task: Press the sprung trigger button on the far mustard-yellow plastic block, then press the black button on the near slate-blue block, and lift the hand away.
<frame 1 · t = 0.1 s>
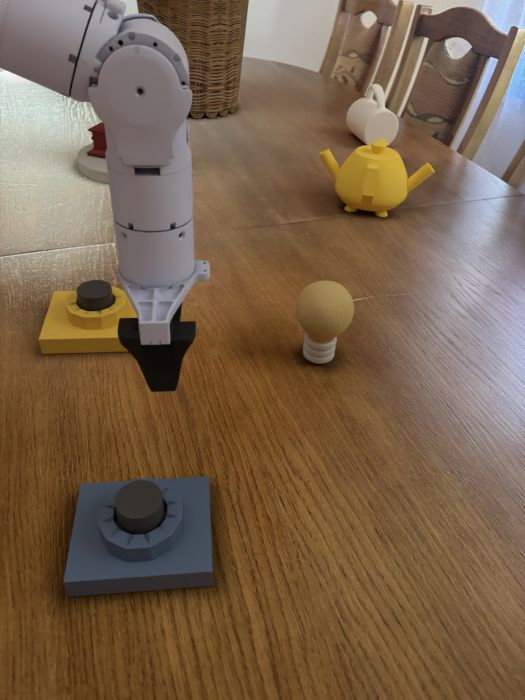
hand: (164, 358, 49), 10 cm above the table, tool pointing down, fingers open, 7 cm apart
wicker basket: (195, 107, 143), on the table
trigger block: (100, 327, 69), on the table
trigger button: (95, 295, 66), point 5 cm above the table, slide at 0.1 cm
mug: (368, 142, 128), on the table
light bulb: (317, 358, 67), on the table
start button: (139, 506, 44), point 5 cm above the table, slide at 0.1 cm
teapot: (367, 206, 101), on the table
gramophone: (132, 165, 111), on the table
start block: (144, 539, 47), on the table
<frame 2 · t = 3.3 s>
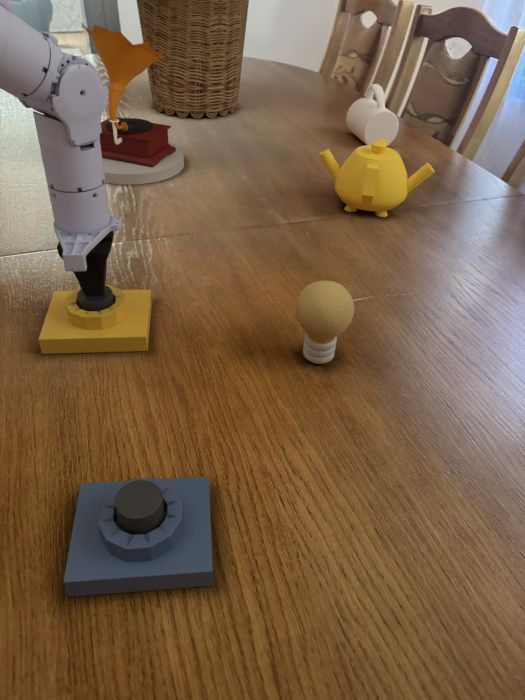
hand: (95, 293, 66), 5 cm above the table, tool pointing down, fingers closed, pressing on trigger button
trigger button: (96, 300, 67), point 4 cm above the table, slide at -0.6 cm, touching gripper
everything else where it was.
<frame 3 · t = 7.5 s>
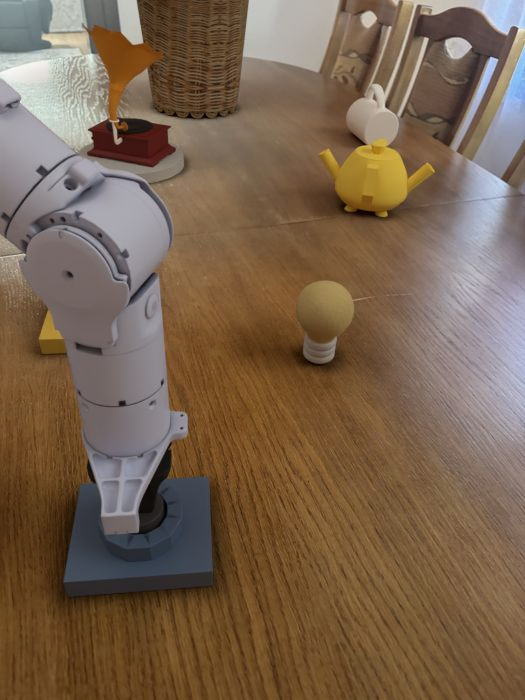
hand: (140, 505, 44), 5 cm above the table, tool pointing down, fingers closed, pressing on start button
trigger button: (95, 295, 66), point 5 cm above the table, slide at 0.1 cm
start button: (140, 513, 44), point 4 cm above the table, slide at -0.8 cm, touching gripper
everything else where it was.
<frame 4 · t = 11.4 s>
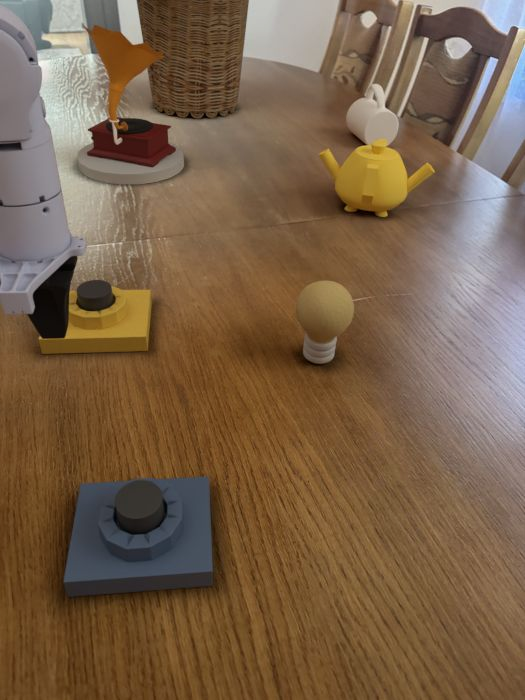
hand: (54, 334, 51), 10 cm above the table, tool pointing down, fingers closed
start button: (139, 506, 44), point 5 cm above the table, slide at 0.1 cm
everything else where it was.
at the end: trigger button pushed in 1.2 cm at the most during the clip, back to where it started at the end; start button pushed in 1.2 cm at the most during the clip, back to where it started at the end; start button slide at 0.1 cm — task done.
